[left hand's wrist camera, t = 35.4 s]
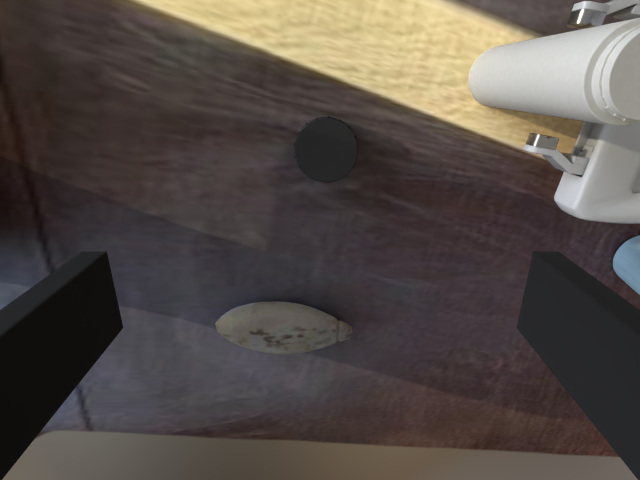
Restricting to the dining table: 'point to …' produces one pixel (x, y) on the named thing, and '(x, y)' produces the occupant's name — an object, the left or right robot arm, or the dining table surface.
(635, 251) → the cup
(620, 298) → the left robot arm
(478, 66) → the jar
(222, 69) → the dining table surface
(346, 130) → the lid
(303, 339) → the decorative stone
